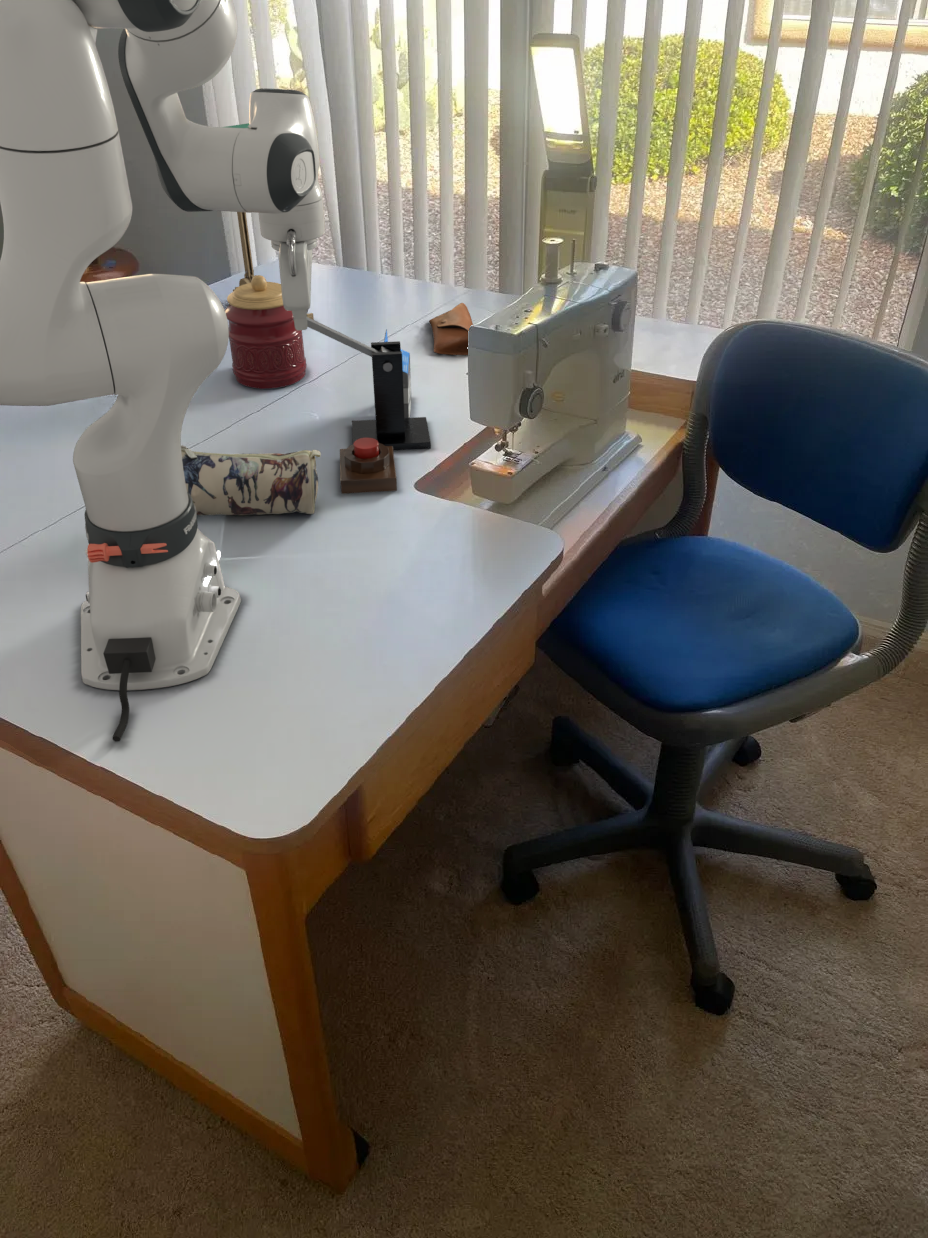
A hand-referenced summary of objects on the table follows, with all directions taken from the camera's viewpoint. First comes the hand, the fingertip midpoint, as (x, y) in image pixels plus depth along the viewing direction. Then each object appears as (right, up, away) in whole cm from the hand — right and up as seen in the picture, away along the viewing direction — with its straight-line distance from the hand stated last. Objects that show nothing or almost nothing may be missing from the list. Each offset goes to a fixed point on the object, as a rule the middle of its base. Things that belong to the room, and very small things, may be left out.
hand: (301, 320), depth 141 cm
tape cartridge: (+13, -9, +21) cm, 26 cm away
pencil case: (-7, -28, -5) cm, 30 cm away
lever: (+6, -3, +3) cm, 7 cm away
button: (+9, -19, +1) cm, 22 cm away
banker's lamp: (-15, +19, +57) cm, 62 cm away
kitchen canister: (-11, 0, +33) cm, 34 cm away
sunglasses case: (+21, +11, +47) cm, 53 cm away
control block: (+9, -22, +3) cm, 24 cm away
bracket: (+12, -15, +13) cm, 23 cm away
